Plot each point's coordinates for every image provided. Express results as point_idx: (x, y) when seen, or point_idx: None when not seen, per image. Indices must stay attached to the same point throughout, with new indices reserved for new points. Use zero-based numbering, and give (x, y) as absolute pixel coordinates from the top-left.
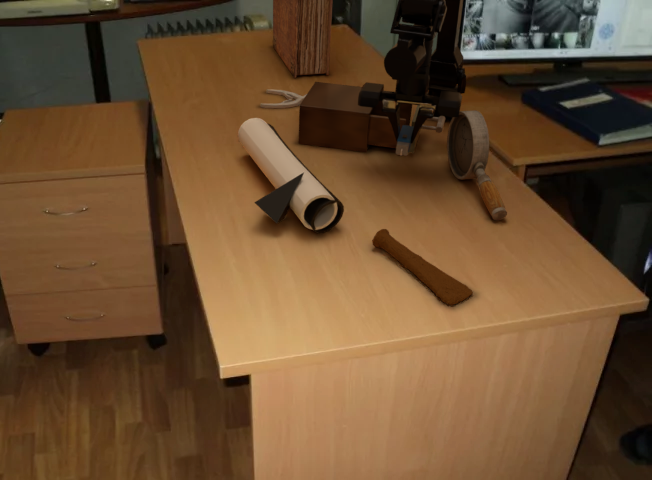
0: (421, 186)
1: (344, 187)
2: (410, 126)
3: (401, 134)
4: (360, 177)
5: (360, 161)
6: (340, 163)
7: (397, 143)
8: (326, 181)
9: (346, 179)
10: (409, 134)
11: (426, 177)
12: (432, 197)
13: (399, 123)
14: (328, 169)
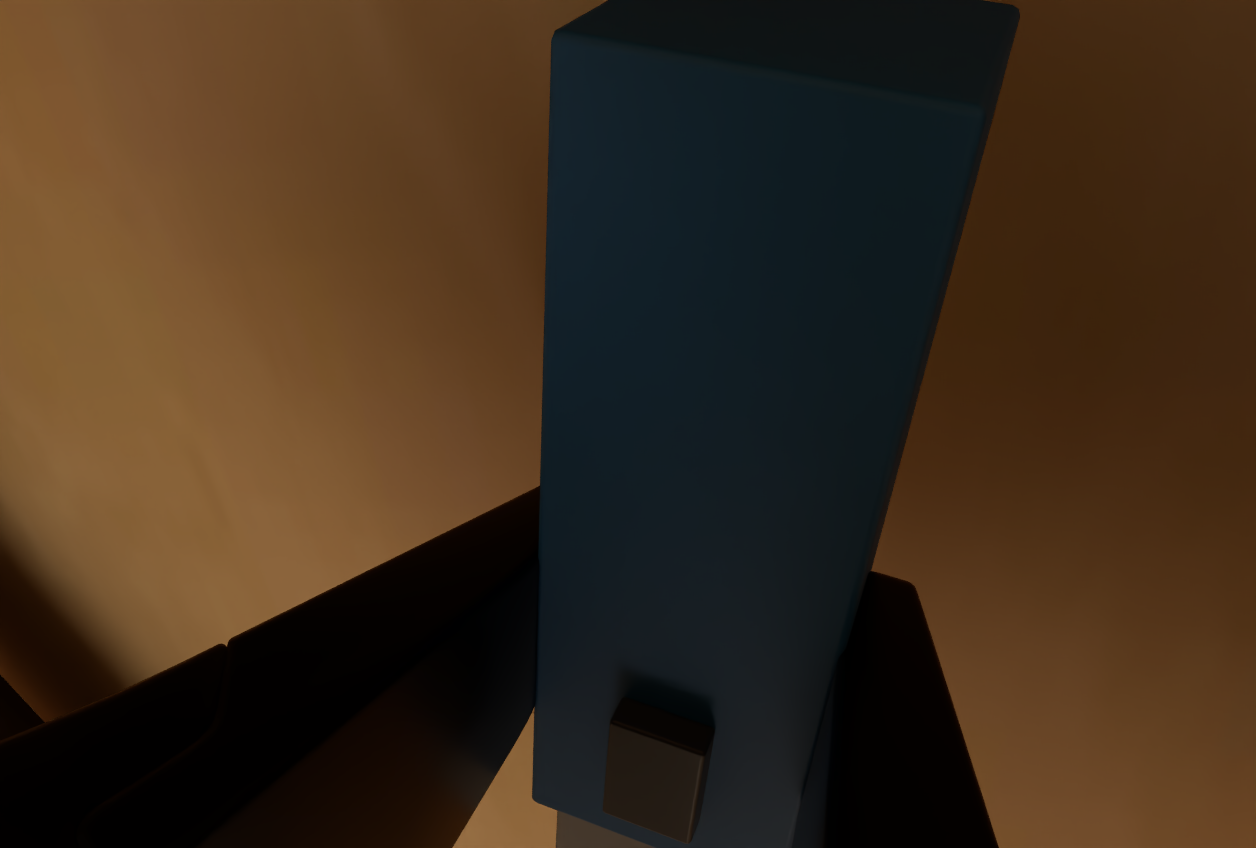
0: (1103, 635)
1: (325, 584)
2: (819, 139)
3: (581, 635)
4: (405, 419)
5: (301, 6)
6: (121, 102)
7: (560, 839)
8: (163, 484)
9: (296, 455)
10: (770, 659)
11: (1245, 426)
12: (1188, 841)
13: (363, 797)
14: (81, 260)
